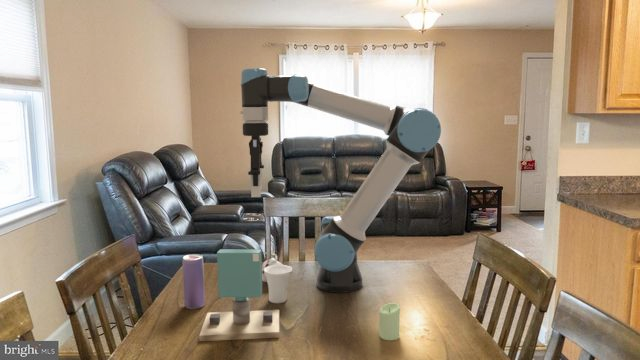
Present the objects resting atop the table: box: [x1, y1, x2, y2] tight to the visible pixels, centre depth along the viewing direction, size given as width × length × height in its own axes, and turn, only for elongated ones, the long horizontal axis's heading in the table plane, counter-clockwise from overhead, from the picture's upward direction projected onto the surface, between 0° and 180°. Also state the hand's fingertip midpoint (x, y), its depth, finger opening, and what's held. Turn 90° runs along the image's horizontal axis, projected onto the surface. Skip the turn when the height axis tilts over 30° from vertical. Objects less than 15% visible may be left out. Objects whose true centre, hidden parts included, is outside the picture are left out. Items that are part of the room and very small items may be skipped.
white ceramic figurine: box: [262, 253, 284, 283], centre depth 162 cm, size 10×8×15 cm
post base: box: [198, 297, 280, 342], centre depth 128 cm, size 20×14×8 cm
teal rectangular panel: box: [216, 248, 263, 302], centre depth 127 cm, size 3×11×13 cm, turn 88°
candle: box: [378, 302, 401, 341], centre depth 122 cm, size 5×5×8 cm
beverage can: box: [182, 253, 206, 310], centre depth 142 cm, size 6×6×15 cm
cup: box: [264, 264, 294, 304], centre depth 146 cm, size 9×9×10 cm
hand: (257, 193), depth 145 cm, fingers open, 13 cm apart
